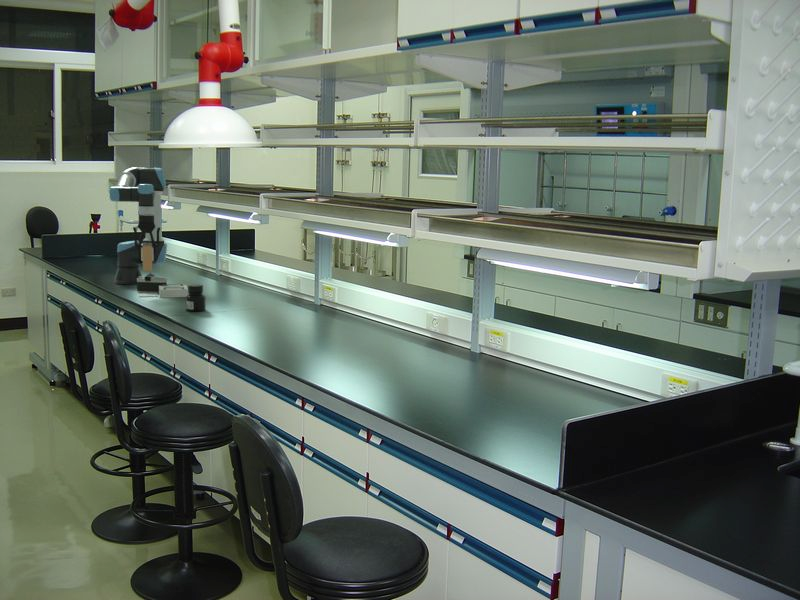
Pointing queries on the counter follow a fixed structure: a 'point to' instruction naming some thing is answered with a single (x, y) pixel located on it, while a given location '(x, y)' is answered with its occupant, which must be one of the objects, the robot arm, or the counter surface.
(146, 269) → the plug
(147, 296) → the mat
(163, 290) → the frame
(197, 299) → the ink bottle
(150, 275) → the camera
